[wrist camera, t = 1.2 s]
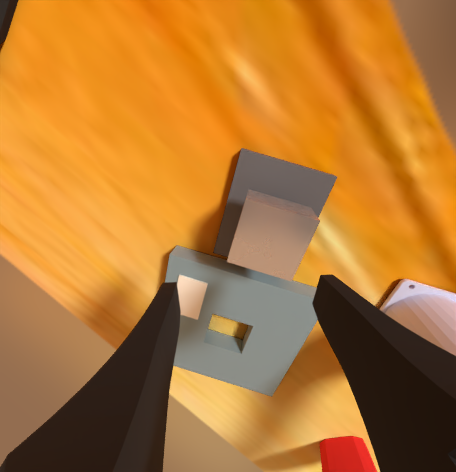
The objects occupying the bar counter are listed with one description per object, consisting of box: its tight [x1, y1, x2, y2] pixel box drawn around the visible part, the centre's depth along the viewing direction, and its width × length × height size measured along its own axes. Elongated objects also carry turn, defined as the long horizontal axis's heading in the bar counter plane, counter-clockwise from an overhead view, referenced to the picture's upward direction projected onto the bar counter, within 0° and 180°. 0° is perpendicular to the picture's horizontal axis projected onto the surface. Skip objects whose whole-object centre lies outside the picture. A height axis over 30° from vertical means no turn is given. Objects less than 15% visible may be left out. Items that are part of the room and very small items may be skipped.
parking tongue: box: [213, 148, 337, 257], centre depth 21 cm, size 8×10×1 cm
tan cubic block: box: [227, 189, 320, 281], centre depth 18 cm, size 5×5×5 cm
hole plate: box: [165, 245, 318, 397], centre depth 26 cm, size 16×16×2 cm
